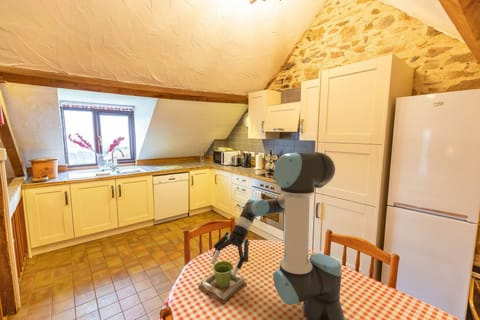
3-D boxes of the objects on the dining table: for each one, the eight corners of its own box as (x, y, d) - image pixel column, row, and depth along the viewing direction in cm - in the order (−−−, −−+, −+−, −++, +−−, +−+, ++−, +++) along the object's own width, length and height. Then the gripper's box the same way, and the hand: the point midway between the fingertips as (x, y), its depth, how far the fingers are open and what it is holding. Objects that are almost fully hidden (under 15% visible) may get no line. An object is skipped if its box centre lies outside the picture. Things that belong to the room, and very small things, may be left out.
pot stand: (246, 284, 107) (246, 278, 106) (223, 304, 94) (223, 297, 94) (221, 271, 117) (221, 265, 116) (198, 287, 104) (198, 281, 104)
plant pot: (232, 291, 101) (232, 273, 100) (211, 291, 100) (211, 273, 99) (233, 277, 110) (233, 261, 109) (214, 277, 110) (214, 261, 109)
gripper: (265, 237, 109) (247, 282, 99) (227, 225, 125) (207, 262, 115) (259, 231, 105) (240, 277, 95) (220, 218, 120) (199, 257, 110)
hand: (222, 269), depth 105 cm, fingers open, 13 cm apart
